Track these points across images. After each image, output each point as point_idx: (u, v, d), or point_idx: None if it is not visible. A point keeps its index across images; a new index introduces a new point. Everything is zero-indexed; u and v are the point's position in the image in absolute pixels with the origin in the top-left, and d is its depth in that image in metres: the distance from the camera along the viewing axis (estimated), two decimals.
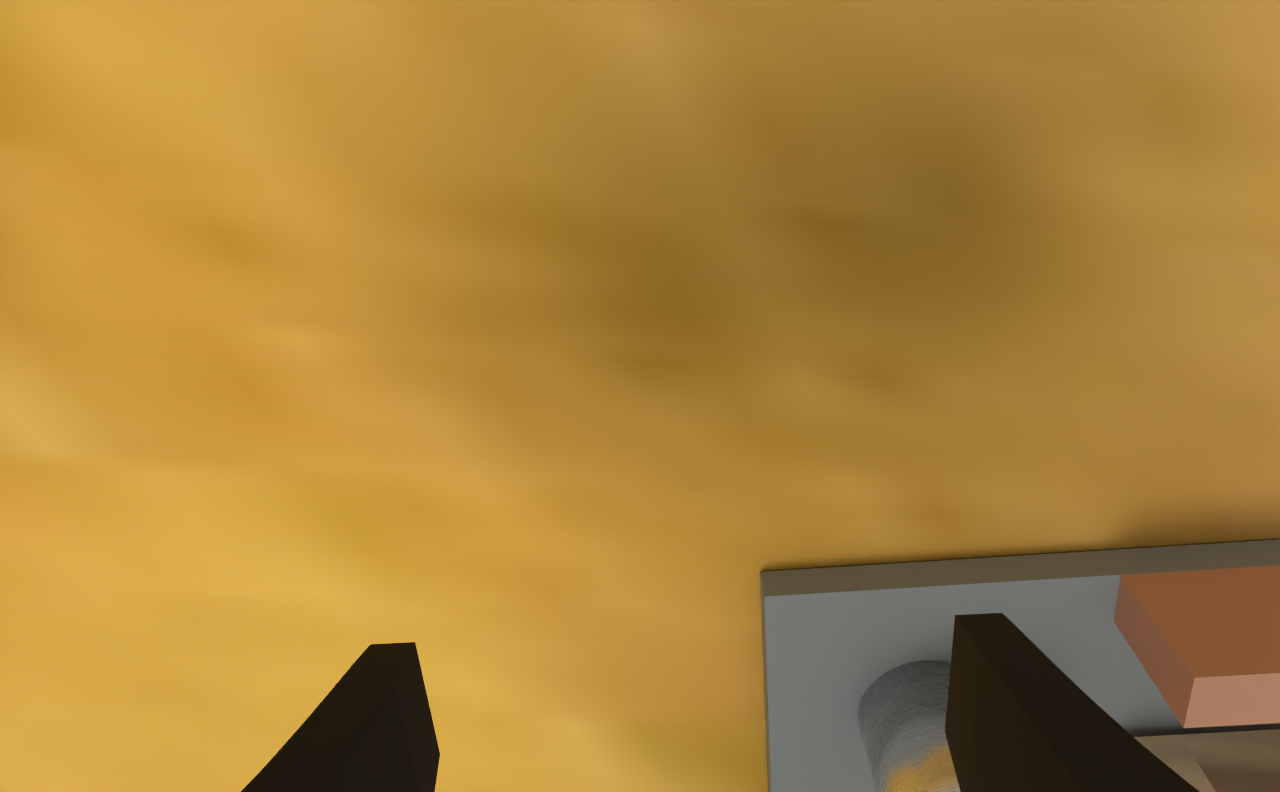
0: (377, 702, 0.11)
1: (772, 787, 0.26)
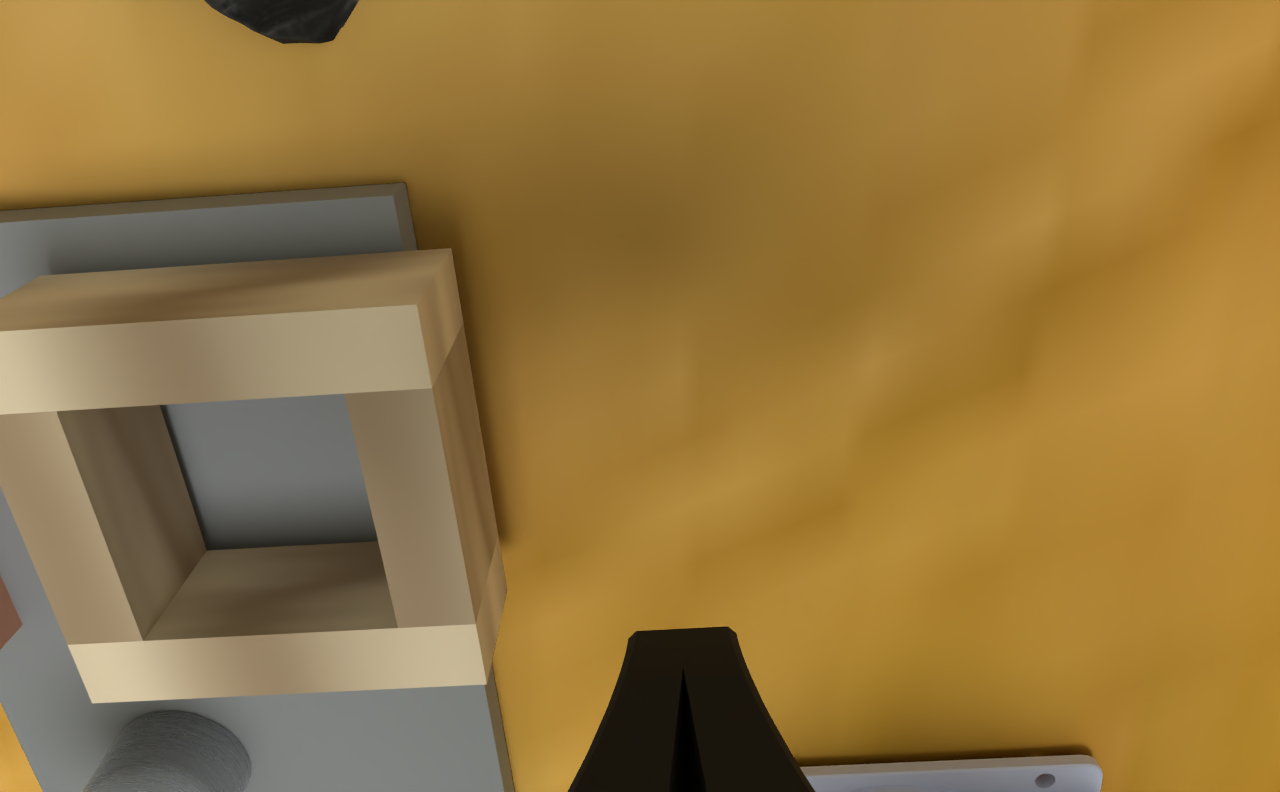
0: (678, 688, 0.11)
1: None
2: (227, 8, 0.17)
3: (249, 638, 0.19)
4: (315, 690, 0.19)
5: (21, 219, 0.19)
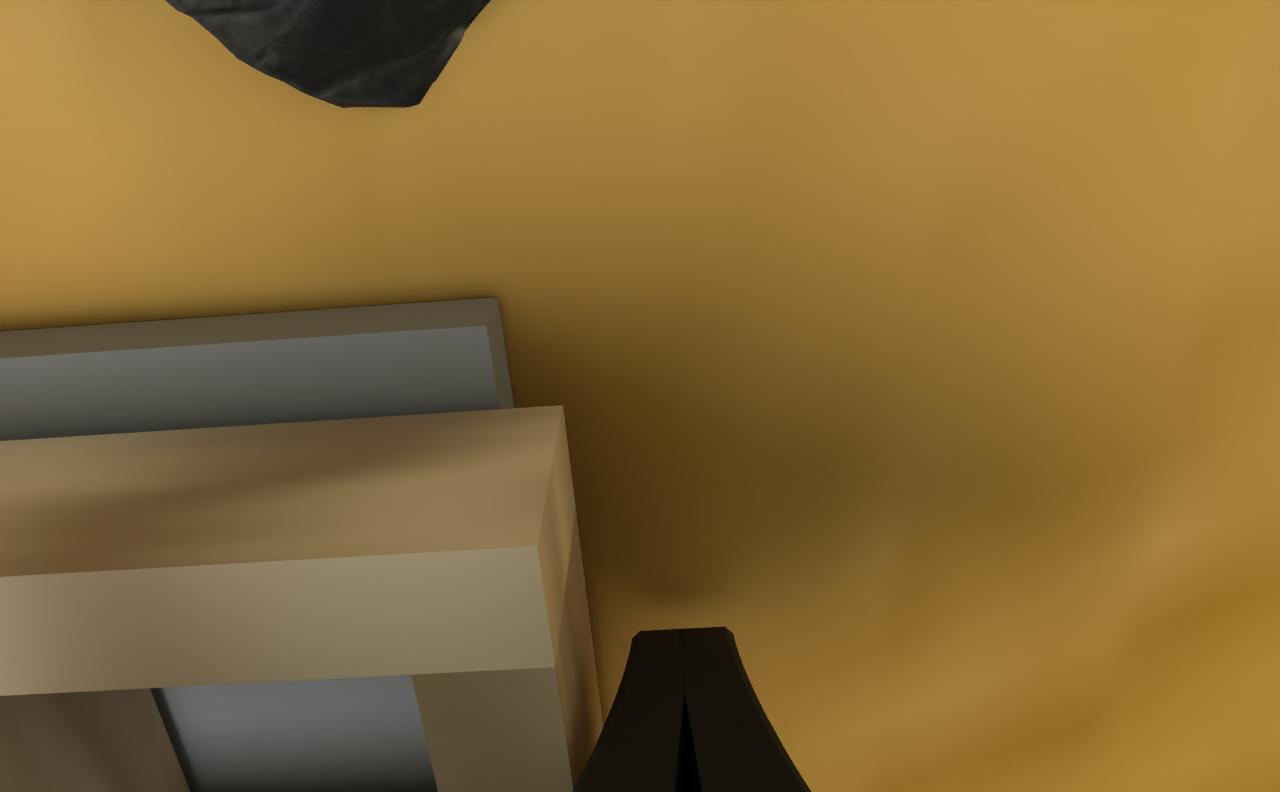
0: (682, 687, 0.11)
1: None
2: (262, 60, 0.11)
3: None
4: None
5: None
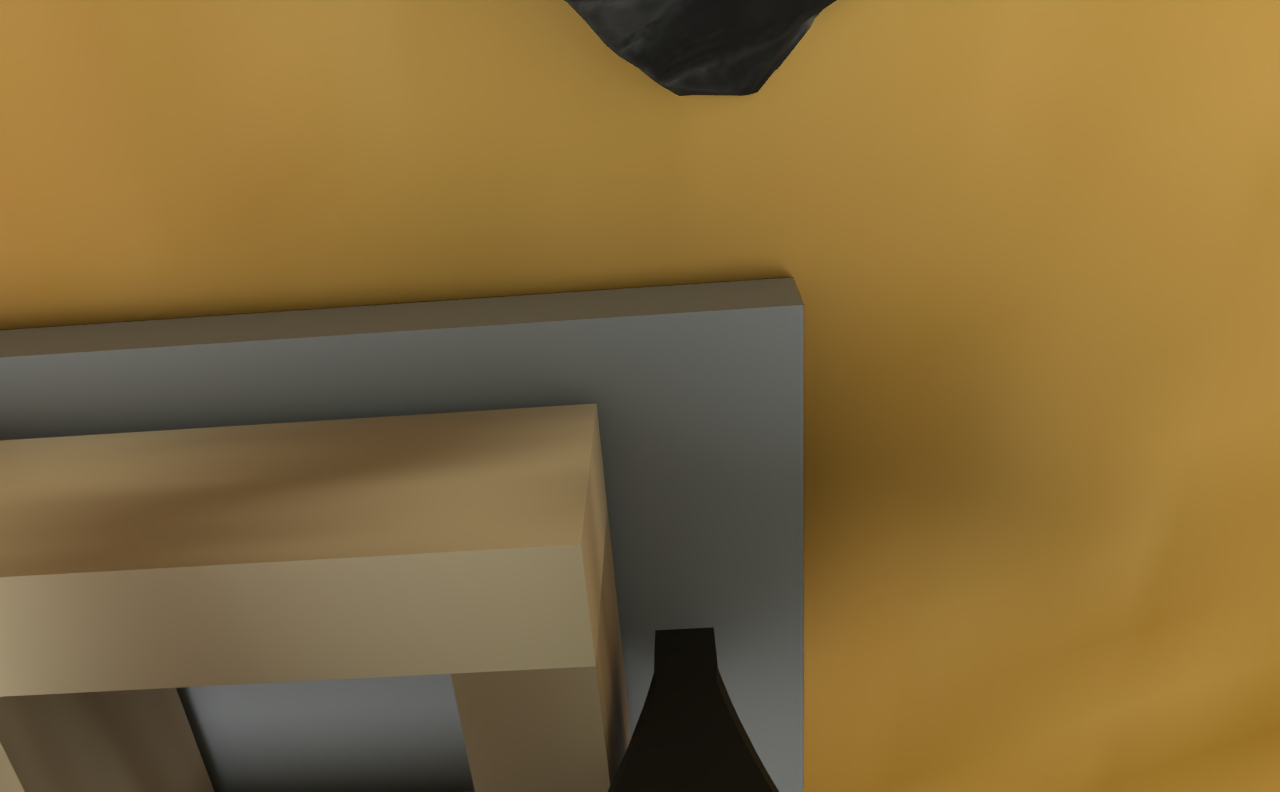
0: (715, 686, 0.11)
1: None
2: (627, 46, 0.11)
3: None
4: None
5: (215, 338, 0.12)
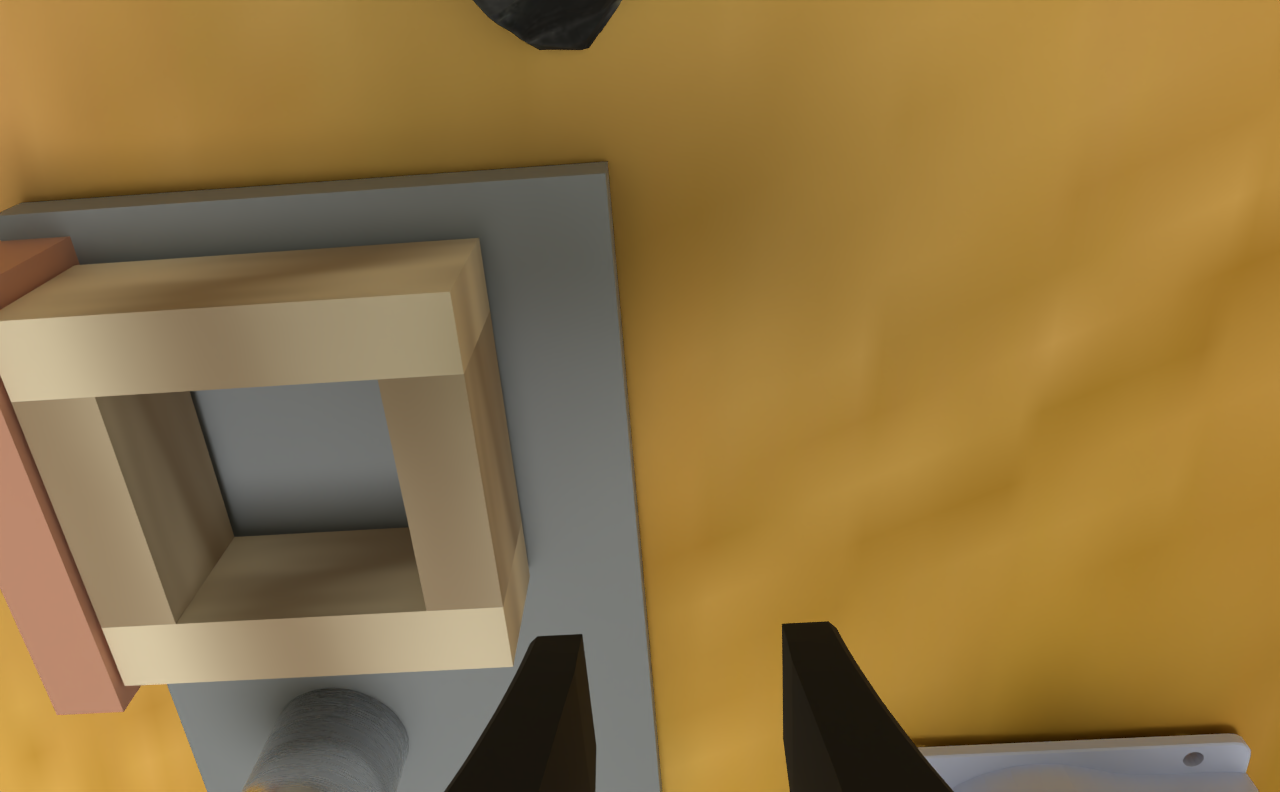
0: (566, 693, 0.11)
1: None
2: (502, 17, 0.18)
3: (280, 621, 0.19)
4: (344, 673, 0.20)
5: (231, 197, 0.19)
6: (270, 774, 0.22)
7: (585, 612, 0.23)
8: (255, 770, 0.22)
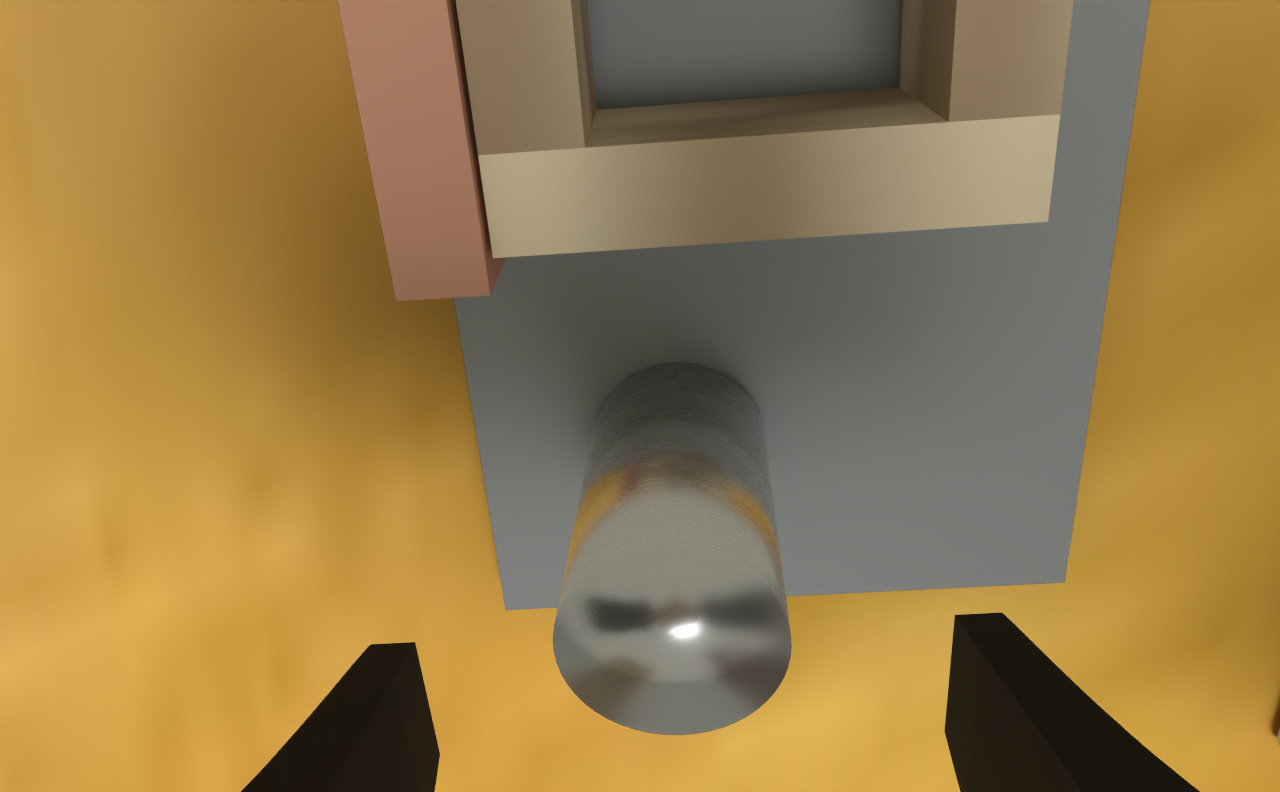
0: (377, 702, 0.11)
1: (803, 594, 0.21)
2: None
3: (735, 141, 0.13)
4: (805, 235, 0.14)
5: None
6: (634, 438, 0.16)
7: (1036, 240, 0.17)
8: (603, 444, 0.17)
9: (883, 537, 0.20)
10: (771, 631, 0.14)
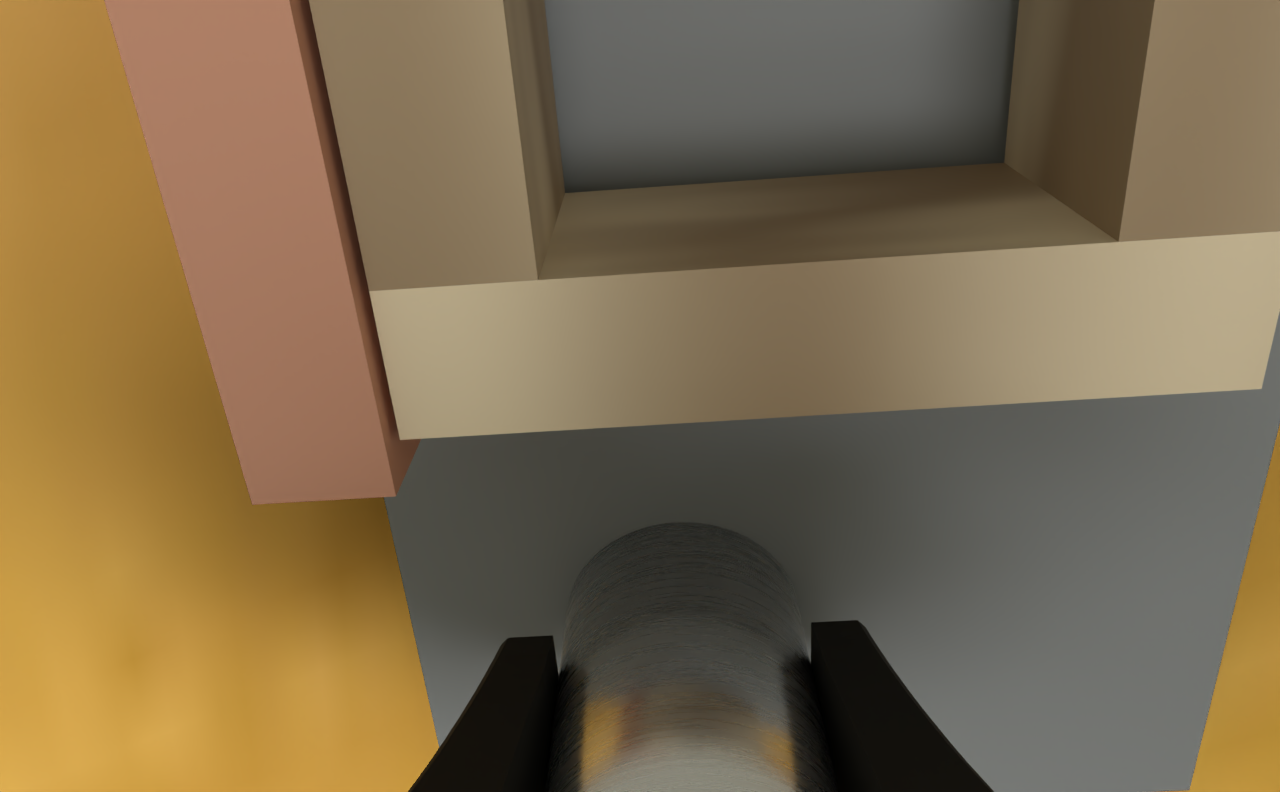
0: (533, 695, 0.11)
1: None
2: None
3: (776, 270, 0.08)
4: (883, 406, 0.09)
5: None
6: (626, 665, 0.11)
7: None
8: (581, 665, 0.12)
9: (953, 736, 0.15)
10: None
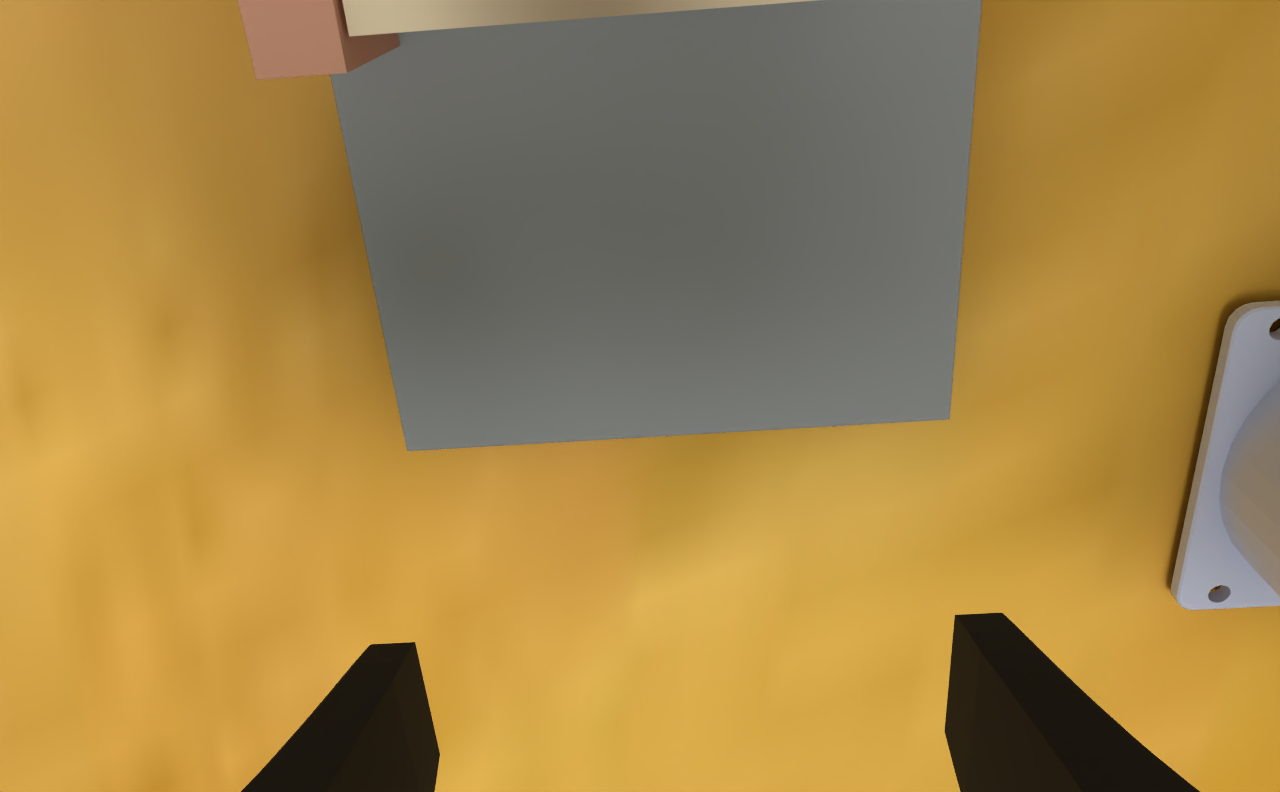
0: (377, 702, 0.11)
1: (696, 432, 0.21)
2: None
3: None
4: (648, 10, 0.15)
5: None
6: None
7: (901, 57, 0.18)
8: None
9: (770, 372, 0.21)
10: None
